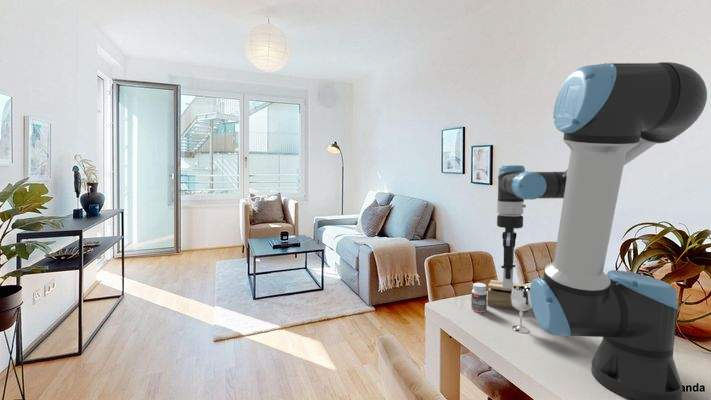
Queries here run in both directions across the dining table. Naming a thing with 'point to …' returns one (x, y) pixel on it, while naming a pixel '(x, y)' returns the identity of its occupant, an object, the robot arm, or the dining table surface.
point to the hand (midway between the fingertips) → (507, 287)
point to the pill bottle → (479, 298)
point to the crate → (499, 298)
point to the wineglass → (521, 304)
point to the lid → (499, 285)
